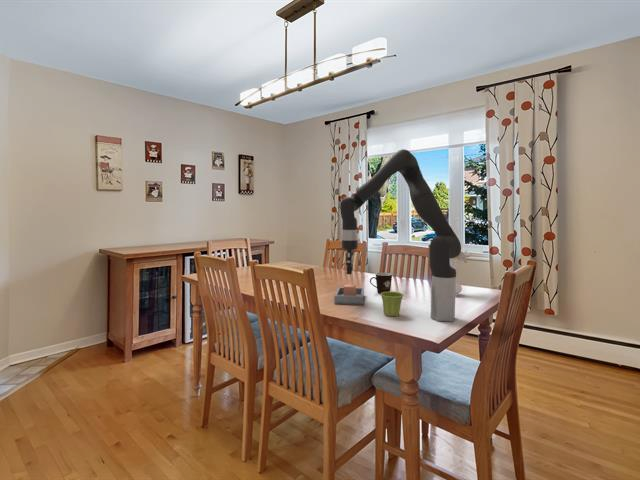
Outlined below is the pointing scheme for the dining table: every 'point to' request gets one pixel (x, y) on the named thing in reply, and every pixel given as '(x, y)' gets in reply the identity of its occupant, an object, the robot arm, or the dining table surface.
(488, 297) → the dining table surface
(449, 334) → the dining table surface
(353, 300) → the gray tray
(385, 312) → the plant pot
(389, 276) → the coffee mug
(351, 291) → the terracotta block
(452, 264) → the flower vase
